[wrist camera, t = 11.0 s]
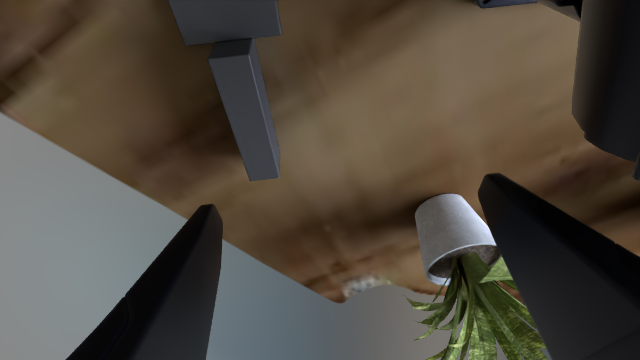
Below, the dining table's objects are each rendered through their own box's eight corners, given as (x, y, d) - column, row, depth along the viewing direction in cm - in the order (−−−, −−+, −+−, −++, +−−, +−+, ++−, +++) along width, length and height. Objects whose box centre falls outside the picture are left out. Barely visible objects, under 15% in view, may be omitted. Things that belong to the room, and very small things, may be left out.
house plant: (353, 170, 26) (407, 407, 14) (523, 129, 24) (744, 360, 12) (374, 255, 36) (417, 435, 24) (496, 230, 34) (605, 411, 22)
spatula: (134, -98, 13) (107, -94, 11) (258, -112, 13) (253, -111, 11) (232, 159, 24) (227, 184, 22) (301, 151, 24) (302, 175, 22)
